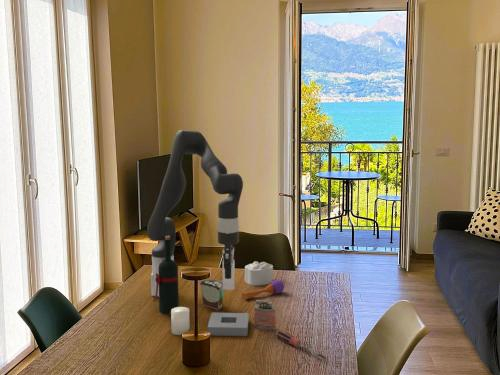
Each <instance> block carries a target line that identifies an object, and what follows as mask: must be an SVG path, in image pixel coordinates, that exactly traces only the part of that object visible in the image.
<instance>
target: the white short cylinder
mask: <svg viewBox="0 0 500 375" xmlns="http://www.w3.org/2000/svg"><path fill="white" fill-rule="evenodd" d="M170 315H171V316H170V318H171V319H170V320H171V322H170V323H171V325H170V326H171V327H170V328H171V334H172V335H176V336H182V335H181V334H182V333H184V332H186V331H188V330H190V328H191V326H190V308H189V307H186V306H179V307H176V308H173V309H172V310H171V314H170ZM190 331H191V330H190Z"/></svg>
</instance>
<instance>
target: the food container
mask: <svg viewBox="0 0 500 375" xmlns="http://www.w3.org/2000/svg"><path fill="white" fill-rule="evenodd" d="M199 285H200V288H201V290H200V291H201V304H203V305H202V306H205V307H207V308H209V309H210V308H211V309H214V310H216V311H220V310H221V309H222V308H223V305H224V304H223V301H224V293H225V292H224V291H225V290H223V280H220V279H214V278H211V279H210V278H207V279H202V280H201V279H200V282H199Z"/></svg>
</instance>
